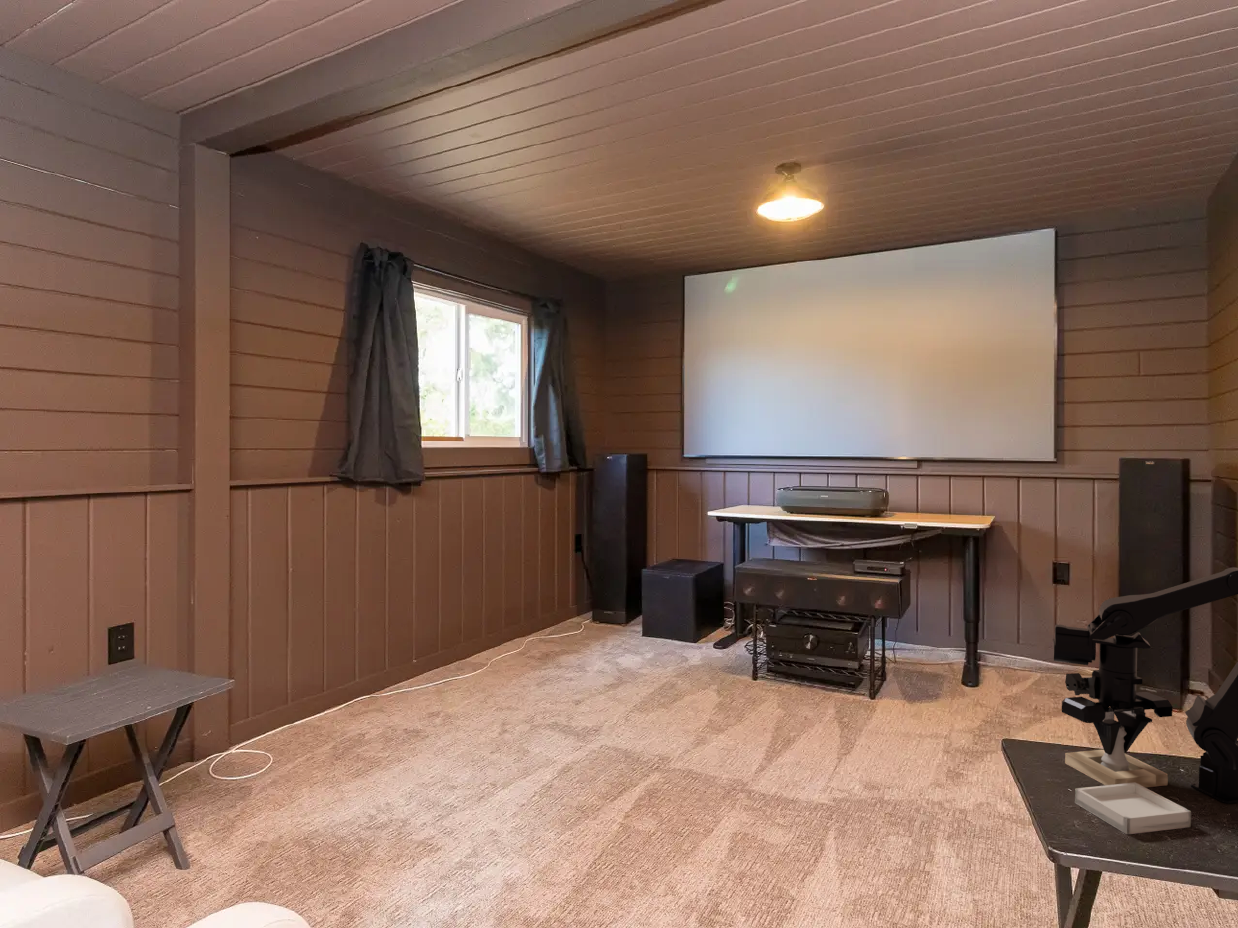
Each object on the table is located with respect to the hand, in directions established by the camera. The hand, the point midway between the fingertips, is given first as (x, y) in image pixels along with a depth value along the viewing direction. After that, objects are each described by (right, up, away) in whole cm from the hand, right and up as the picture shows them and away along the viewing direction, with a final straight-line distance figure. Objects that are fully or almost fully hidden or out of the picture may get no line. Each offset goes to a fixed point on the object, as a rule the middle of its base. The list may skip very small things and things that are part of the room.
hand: (1115, 752), depth 135 cm
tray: (-7, -4, -15) cm, 17 cm away
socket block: (0, -4, 0) cm, 4 cm away
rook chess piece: (0, -3, 0) cm, 3 cm away
